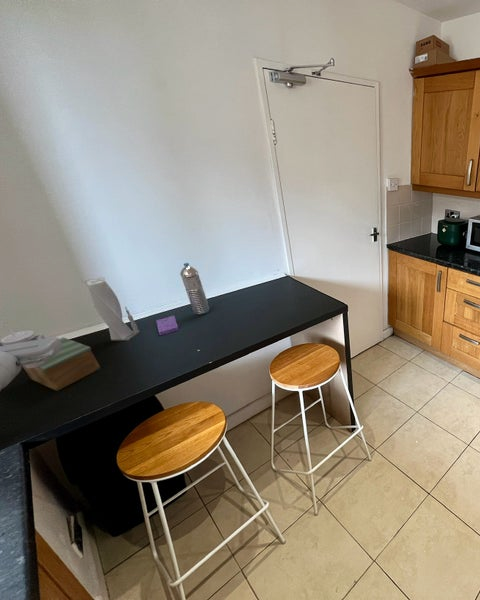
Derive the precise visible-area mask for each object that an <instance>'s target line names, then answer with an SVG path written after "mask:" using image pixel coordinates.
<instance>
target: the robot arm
mask: <svg viewBox="0 0 480 600" xmlns="http://www.w3.org/2000/svg"><path fill="white" fill-rule="evenodd" d="M60 339H61V338H59V337H57V336H51V337H45V335H44V334H39V335H36V336H35V337H34V338H33V341H27V342H21V343H16V344H10V345H2V343H1V341H0V392H1V391H2V390H3V389H5V388H6V387H7V386H8V385H9V384H10V383H11V382H12V381H13V380H14V379H15V378H16V377H17V376H19V374H20V372H21V371H22V369H23V366H24V365H29V364H34V363H39V362H43V361H46V360H49V359H50V358H52V357H53V356H54V355H56V354H57V353H58V352H59V351H60V350H61V349H62V348H63V345H62V342H61V341H60Z"/></svg>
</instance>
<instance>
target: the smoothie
mask: <svg viewBox="0 0 480 600" xmlns="http://www.w3.org/2000/svg"><path fill="white" fill-rule="evenodd" d="M4 327H5V328H6V329H7V331H8V332H9V334H8V335H6V336H4V337H3V338H1V340H0V342H1V343H2V345H10V344H16V343H21V342H27V341H33V338H34V337H35V336H37V333H35V331H34V330H30V329H29V330H21V331H16V332H14V331H13V330H12V328H11V327H10V325H9V324H8V323H7V322H6V323H4ZM44 362H45V361H43V362H39V363H34V364H29V365H25V366H26V367H27V368H34V367H37V366H39V365H41V364H43V363H44Z"/></svg>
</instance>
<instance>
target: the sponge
mask: <svg viewBox="0 0 480 600" xmlns="http://www.w3.org/2000/svg"><path fill="white" fill-rule="evenodd" d="M155 322H156V326H157V331H158V334H159V336H163V335H167V334H170V333H173V332H177V331H179V329H180V328H179V326H178V323H177V319H176V316H175V315H171V316H168V317H164V318H161V319H156V320H155Z"/></svg>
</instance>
